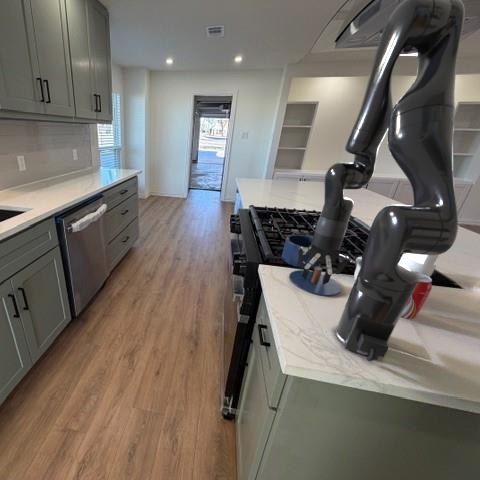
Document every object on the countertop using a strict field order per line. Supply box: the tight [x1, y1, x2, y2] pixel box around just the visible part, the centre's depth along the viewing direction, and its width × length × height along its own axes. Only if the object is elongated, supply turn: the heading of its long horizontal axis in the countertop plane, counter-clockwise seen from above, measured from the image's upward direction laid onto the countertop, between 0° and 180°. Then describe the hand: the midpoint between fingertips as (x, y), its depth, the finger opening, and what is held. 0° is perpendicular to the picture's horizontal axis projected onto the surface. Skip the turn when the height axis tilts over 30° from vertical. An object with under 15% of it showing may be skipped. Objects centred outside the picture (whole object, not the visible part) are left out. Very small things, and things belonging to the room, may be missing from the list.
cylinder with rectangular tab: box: [398, 253, 440, 278], centre depth 89 cm, size 9×9×12 cm
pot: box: [281, 234, 323, 270], centre depth 96 cm, size 14×14×8 cm
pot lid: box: [288, 266, 341, 297], centre depth 82 cm, size 15×15×6 cm
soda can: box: [400, 271, 433, 320], centre depth 68 cm, size 7×7×12 cm
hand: (314, 280), depth 82 cm, fingers open, 5 cm apart
